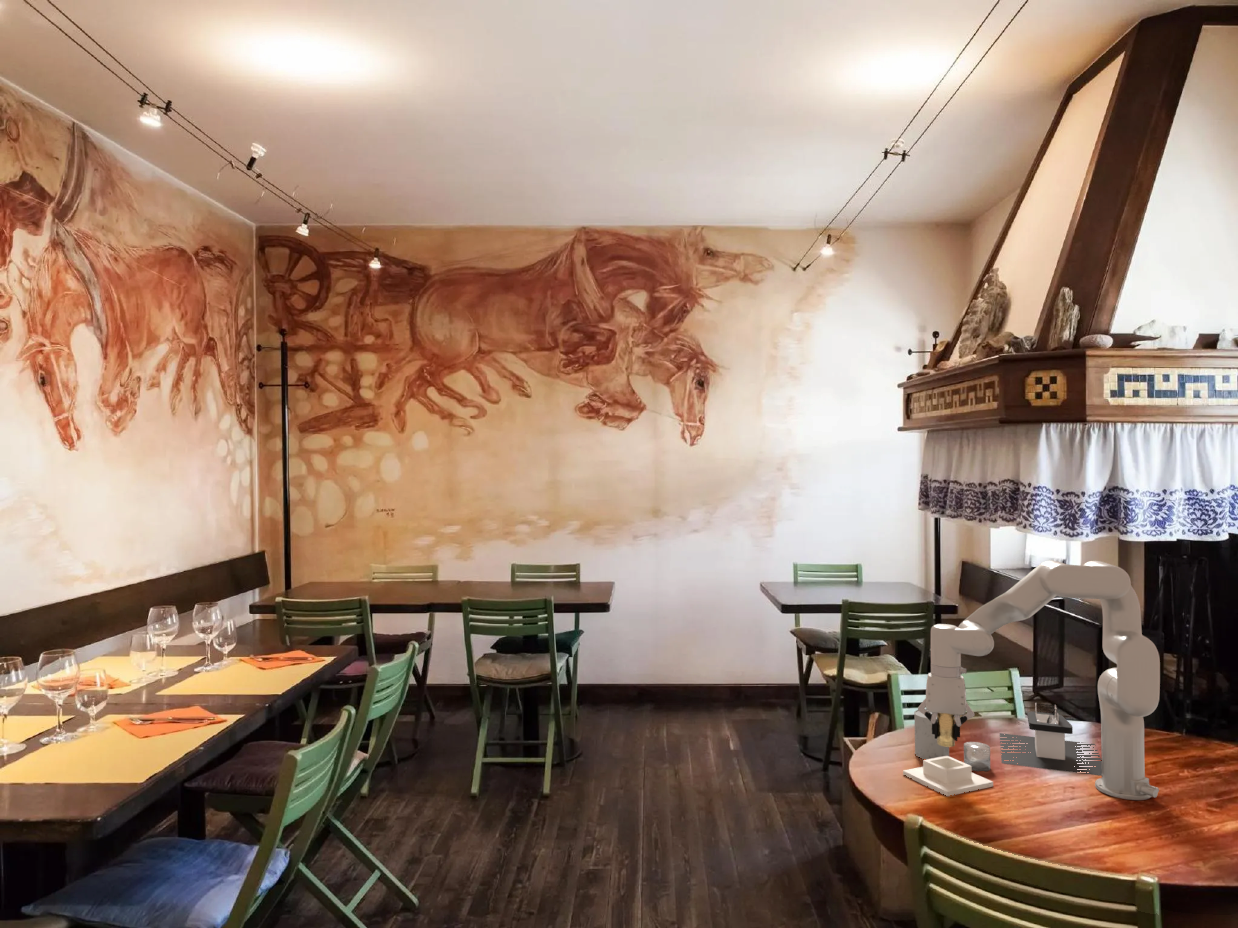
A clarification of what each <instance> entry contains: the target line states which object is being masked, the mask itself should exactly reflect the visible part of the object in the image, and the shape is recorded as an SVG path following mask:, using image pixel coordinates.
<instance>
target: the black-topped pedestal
mask: <svg viewBox="0 0 1238 928" xmlns="http://www.w3.org/2000/svg"><path fill="white" fill-rule="evenodd" d="M1034 705H1035V708H1034V709H1035V710H1033V711H1032V710H1031V711H1028V712H1027V723H1028V728H1029V730H1032V731H1034V736H1028V735H1022V734H1021V735H1019V734H1011V733H1010V734H1009V733H1002V732H999V743H1001V742H1002V743H1006V744H1000V746H1004V747H1000V757H1001V758H1000V759H1001V761H1000V762H1001V764H1006V765H1011V766H1012V765H1014V766H1021V767H1028V768H1029V767H1030V768H1037V769H1045V770H1053V771H1060V772H1067V773H1077V772H1080V771H1081V772H1086V773H1082V774H1084V775H1093V776H1099V777H1102V761H1083V760H1085V759H1086V760H1102V757H1101V755H1100V753H1099V750H1098V749H1097V750H1095V751H1098V753H1092V754H1099V755H1077V754H1084V753H1076V752H1077V751H1078V752H1082V750H1076V749H1080V748H1082V747H1077V746H1081V745H1087V746H1088V745H1090V746H1091V745H1095V746H1096V744H1095V743H1091V744H1077V743H1080V741H1073V740H1066V737H1065V736H1066V735H1072V734H1073V725H1072V724H1071V723H1070V722H1069V721H1068V720H1067V719H1066V718H1065V717H1064V715H1062V714H1059V712H1058V707H1057V705H1056V704H1053V705H1052V704H1043V703H1037V702H1035V703H1034ZM1042 706H1043V709H1042ZM1045 709H1046V711H1049V712H1045ZM1004 734H1005V735H1004ZM1000 737H1007V738H1000ZM1012 737H1014V738H1012ZM1016 737H1017V738H1016ZM1000 740H1010V741H1000ZM1011 740H1014V741H1011ZM1015 740H1018V741H1015ZM1020 740H1021V741H1020ZM1019 742H1020V743H1025V744H1012V743H1019ZM1007 743H1008V744H1007ZM1010 743H1011V744H1010ZM1026 743H1028V744H1026ZM1081 743H1083V742H1081ZM1013 745H1014V746H1018V747H1008V746H1013ZM1019 746H1021V747H1019ZM1025 746H1026V747H1025ZM1075 746H1076V747H1075ZM1001 748H1003V749H1008V748H1009V749H1013V748H1014V749H1018V750H1001ZM1083 748H1090V747H1083ZM1093 748H1094V747H1093ZM1019 749H1021V750H1019ZM1025 749H1026V750H1025ZM1001 751H1002V752H1005V753H1001ZM1011 751H1012V752H1013V751H1014V752H1021V753H1007V752H1011ZM1083 751H1094V750H1083ZM1022 752H1026V753H1022ZM1028 752H1029V753H1028ZM1030 752H1031V753H1030ZM1001 754H1002V755H1001ZM1089 754H1090V753H1089ZM1080 756H1081V757H1082V756H1084V757H1091V756H1098V757H1100V758H1081V757H1080ZM1013 757H1014V758H1013ZM1016 757H1017V758H1016ZM1077 757H1080V758H1077ZM1082 759H1083V760H1082ZM1004 760H1009V761H1004ZM1010 760H1011V761H1010ZM1012 760H1014V761H1012ZM1076 760H1078V761H1076ZM1079 760H1081V761H1079ZM1082 762H1083V763H1084V764H1077V763H1082ZM1085 762H1086V764H1085ZM1088 762H1089V764H1088ZM1017 763H1018V764H1017ZM1074 766H1075V767H1074ZM1079 766H1093V767H1079ZM1094 766H1096V767H1094ZM1077 769H1087V770H1077ZM1089 769H1090V770H1089ZM1087 772H1089V773H1087ZM1077 774H1078V773H1077Z"/></svg>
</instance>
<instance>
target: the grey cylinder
mask: <svg viewBox="0 0 1238 928" xmlns="http://www.w3.org/2000/svg"><path fill="white" fill-rule="evenodd" d="M925 709H926V708H925ZM926 710H927V709H926ZM927 711H928V710H927ZM929 712H930V711H929ZM930 713H931V714H932V712H930ZM913 715H914V755H915V754H916V756H918V757H920V758H922V759H921V760H923V759H926V760H927V759H932V758H937V757H942V756H949V757H950V747H944V746H941V745H938V744H937V739H935V734H932V723H931V721H930V720H929V719H928V718H927V717H926V716H925V715H924V714H922V713H921V712H920V711H919V710H918V709H916V710H915V711H914V712H913ZM936 720H937V717H936ZM916 756H915V757H916ZM918 757H917V758H918ZM920 758H919V759H920Z"/></svg>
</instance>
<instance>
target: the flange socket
mask: <svg viewBox="0 0 1238 928" xmlns="http://www.w3.org/2000/svg"><path fill="white" fill-rule="evenodd" d="M972 771H973V770H972V766H970V765H968V764H966V763H964V761H962V760H961V761H960V760H958V759H956V758H954V757H951V756H950V755H949V756H942V757H937V758H932V759H927V760H923V759H922V766H918V767H915V768H909V769H903V770H902V775H903V776H904V775H906V776H907V777H906V776H905V777H906V778H908V777H909V779H910V778H912V779H911V780H913V781H915V782H917V783H918V784H920V785H923V786H925V787H927V786H928V787H927V788H929V789H931V790H933V789H934V790H933V791H935V792H937V793H939V792H940V794H941V795H943V794H944V795H943V796H945V795H946V796H945V797H951V796H950V795H952V796H956V795H959V794H965V793H970V792H973V791H978V789H979V790H983V789H988V788H991V787H994V781H993V780H991V779H988V778H986V777H983V776H981V775H979V774H976V773H974V772H972ZM969 791H970V792H969ZM964 792H965V793H964ZM954 794H955V795H954Z"/></svg>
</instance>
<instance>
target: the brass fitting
mask: <svg viewBox="0 0 1238 928" xmlns="http://www.w3.org/2000/svg"><path fill="white" fill-rule="evenodd" d="M955 722H956V721H955V716H954V715H951V714H947V713H937V744H938V745H941V746H944V747H949V748H951V747H954V746H955V745H956V744H955V743H956V741H955V740H954V725H955Z"/></svg>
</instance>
